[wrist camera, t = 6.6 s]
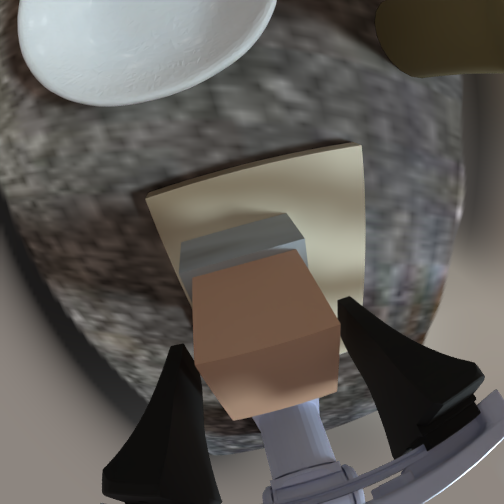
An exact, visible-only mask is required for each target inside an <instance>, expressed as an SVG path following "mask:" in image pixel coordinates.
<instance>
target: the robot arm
mask: <svg viewBox="0 0 504 504" xmlns="http://www.w3.org/2000/svg"><path fill="white" fill-rule="evenodd" d="M337 319H338V320H339V322H340V324H341V326H340V336H341V339H342V341H343V343H344V345H345V348H346V349H347V351H348V353H349V355H350V356H351V358H352V360H353V361H354V363H355V365H356V367H357V368H358V370H359V372H360V373H361V375H362V377H363V379H364V380H365V382H366V384H367V386H368V388H369V390H370V393H371V395H372V397H373V400H374V402H375V405H376V407H377V410H378V412H379V415H380V418H381V421H382V424H383V426H384V429H385V432H386V436H387V439H388V442H389V445H390V449H391V453H392V456H393V458H394V460H393V461H391V462H389V463H387V464H385V465H382V466H380V467H378V468H376V469H374V470H371V471H369V472H367V473H364V474H362V475H360V476H357V474H356V472H355V470H354V469H353V468H352V467H351V466H348V465H346V464H344V465H342V466H341V465H340V462H339V461H337V462H336V460H335V457H334V454H333V451H332V448H331V446H330V443H329V441H328V438H327V435H326V433H325V430H324V427H323V424H322V421H321V419H320V416H319V398H317V399H314V400H311V401H307V402H304V403H301V404H298V405H295V406H291V407H288V408H284V409H281V410H277V411H273V412H269V413H265V414H261V415H257V416H253V417H252V418H253V420H254V421H255V423H256V425H257V426H258V428H259V430H260V431H261V434H262V438H263V442H264V447H265V451H266V455H267V459H268V463H269V467H270V471H271V475H272V479H273V480H271V481H270V483H271V486H268V487H266V489H265V490H264V492H263V504H424V503H425V502H427V501H429V500H430V499H432V498H433V497H434V496H436V495H437V494H439V493H440V492H442V491H443V490H445V489H446V488H447V487H449V486H450V485H451V484H453V483H454V482H455V481H457V480H458V479H459V478H460V477H462V476H463V475H464V474H465V473H467V472H468V471H469V470H470V469H471V468H473V467H474V466H475V465H476V464H477V463H478V462H480V461H481V460H482V459H483V458H484V457H485V456H486V455H487V454H488V453H489V452H490V451H491V450H492V449H494V447H496V446H497V445H498V444H499V443H500V442H501V441H502V440H503V439H504V399H503V398H502V396H501V395H500V393H499V392H498V390H497V389H496V390H494V391H493V392H492V393H490V394H489V395H488V396H487V397H486V398H485V399H483V400H482V401H481V402H480V403H479V404H478V405H476V404H475V402H474V401H475V400H476V397H475V396H474V392H475V391H476V390H477V389H478V387H479V386H480V385H481V384H482V382H483V381H484V378H485V376H484V374H483V373H482V372H481V370H480V369H479V367H478V366H477V365H476V364H475V363H474V362H470V361H465V360H461V359H457V358H454V357H451V356H448V355H445V354H442V353H439V352H437V351H435V350H432V349H430V348H427V347H425V346H423V345H421V344H419V343H417V342H415V341H413V340H411V339H410V338H408V337H406V336H404V335H403V334H401V333H399V332H398V331H396V330H395V329H393V328H392V327H390V326H389V325H387V324H386V323H384V322H383V321H382V320H380V319H379V318H377V317H376V316H375V315H373V314H372V313H371V312H369V311H368V310H367V309H366V308H364V307H363V306H362V305H361V304H359V303H358V302H357V301H356V300H354V299H353V298H352V297H350V296H348V297H345V298H342V299H339V300H337ZM402 470H403V471H402ZM400 471H402V472H401V475H400V476H398V477H396V478H394V479H392V480H390V481H388V482H386V483H384V484H382V485H380V486H379V487H377V488H375V489H373V490H372V491H371V493H372V495H373V500H371V501H368V502H365V496H364V492H363V488H365V487H367V486H370V485H372V484H375V483H376V482H379V481H381V480H383V479H385V478H388V477H390V476H391V475H394V474H396V473H398V472H400ZM102 493H103V494H104V495H105V496H107V497H110V498H113V499H116V500H119V501H122V502H125V504H221V503H222V500H221V497H220V494H219V491H218V488H217V485H216V481H215V478H214V474H213V470H212V466H211V462H210V458H209V453H208V448H207V443H206V438H205V431H204V416H203V396H202V384H201V378H200V373H199V371H198V369H197V368H196V366H195V363H194V360H193V358H192V357H191V355H190V353H189V352H188V350H187V348H186V347H185V345H184V344H179V345H174V346H171V347H170V350H169V353H168V356H167V359H166V361H165V364H164V367H163V370H162V373H161V375H160V378H159V381H158V383H157V386H156V388H155V391H154V393H153V395H152V397H151V400H150V402H149V404H148V406H147V408H146V410H145V413H144V414H143V416H142V418H141V420H140V422H139V423H138V425H137V426H136V428H135V430H134V431H133V433H132V434H131V436H130V437H129V439H128V440H127V442H126V443H125V444H124V446H123V447H122V448H121V450H120V451H119V452H118V454H117V455H116V456H115V457H114V458H113V459H112V460H111V461H110V462H109V464H108V465H107V466H106V467H105V468H104V469H103V473H102ZM100 504H104V503H100Z"/></svg>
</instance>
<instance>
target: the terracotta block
mask: <svg viewBox="0 0 504 504" xmlns="http://www.w3.org/2000/svg"><path fill="white" fill-rule="evenodd" d="M192 305H193V340H194V363H195V366H196V368H197V369H198V371H199V373H200V374H201V376H202V377H203V379H204V380H205V382H206V383H207V385H208V386H209V388H210V389H211V390H212V392H213V393H214V395H215V396H216V398H217V399H218V400H219V402H220V403H221V405H222V406H223V407H224V409H225V410H226V412H227V413H228V414H229V416H230V417H231V418H232V420H233V421H235V420H240V419H244V418H249V417H253V416H257V415H261V414H265V413H269V412H273V411H277V410H281V409H284V408H288V407H291V406H295V405H298V404H301V403H304V402H307V401H311V400H314V399H317V398H320V397H323V396H325V395H328V394H331V393H334V392H337V383H338V369H339V352H340V326H341V324H340V322H339V320H338V319H337V317H336V315H335V313H334V312H333V310H332V308H331V307H330V305H329V303H328V301H327V300H326V298H325V296H324V295H323V293H322V291H321V289H320V288H319V286H318V284H317V283H316V281H315V279H314V278H313V276H312V274H311V273H310V271H309V269H308V268H307V266H306V264H305V263H304V261H303V259H302V258H301V256H300V254H299V253H298V251H297V250H296V249H294V250H291V251H287V252H284V253H280V254H277V255H273V256H269V257H266V258H262V259H259V260H255V261H251V262H248V263H244V264H241V265H237V266H233V267H230V268H226V269H222V270H219V271H215V272H211V273H208V274H204V275H200V276H197V277H193V278H192Z"/></svg>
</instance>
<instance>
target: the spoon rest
mask: <svg viewBox="0 0 504 504" xmlns="http://www.w3.org/2000/svg"><path fill="white" fill-rule="evenodd" d="M276 2H277V0H20V2H19V9H18V16H17V23H18V38H19V44H20V49H21V53H22V56H23V58H24V60H25V62H26V64H27V66H28V67H29V69H30V71H31V73H32V74H33V75H34V76H35V78H36V79H37V80H38V81H39V82H40V83H41V84H42V85H43V86H44V87H45V88H47V89H48V90H49V91H51V92H53V93H55V94H56V95H58V96H60V97H62V98H64V99H67V100H70V101H73V102H77V103H81V104H85V105H91V106H100V107H111V106H124V105H131V104H138V103H143V102H147V101H151V100H156V99H159V98H163V97H166V96H170V95H173V94H175V93H178V92H181V91H183V90H186V89H189V88H191V87H193V86H195V85H197V84H199V83H201V82H203V81H205V80H207V79H208V78H210V77H212V76H214V75H215V74H217V73H219V72H220V71H222V70H223V69H225V68H226V67H228V66H229V65H231V64H232V63H234V62H235V61H236V60H238V59H239V58H240V57H241V56H242V55H244V54H245V53H246V52H247V51H248V50H249V49H250V48H251V47H252V46H253V44H254V43H255V42H256V41H257V39H258V38H259V37H260V35H261V34H262V33H263V31H264V30H265V28H266V26H267V24H268V22H269V20H270V18H271V16H272V14H273V11H274V8H275V6H276Z"/></svg>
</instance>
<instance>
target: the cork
mask: <svg viewBox="0 0 504 504" xmlns="http://www.w3.org/2000/svg"><path fill="white" fill-rule="evenodd" d="M375 27H376V33H377V37H378V39H379V42H380V44H381V46H382V49H383V50H384V52H385V53H386V55H387V56H388V58H389V59H390V60H391V62H392V63H393V64H394V65H396V66H397V67H398V68H399V69H400V70H401V71H402V72H404V73H406V74H408V75H410V76H412V77H418V78H426V77H435V76H445V75H457V74H475V73H504V0H386V1H384V2H382V3H381V4H380V6H379V7H378V9H377V11H376V16H375Z"/></svg>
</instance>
